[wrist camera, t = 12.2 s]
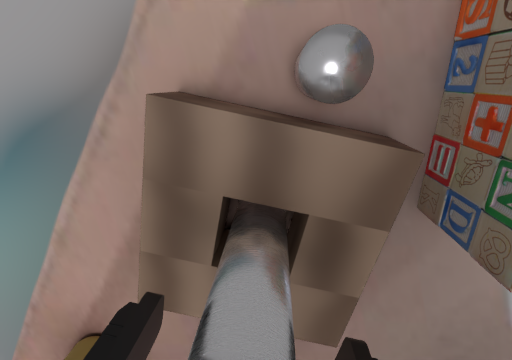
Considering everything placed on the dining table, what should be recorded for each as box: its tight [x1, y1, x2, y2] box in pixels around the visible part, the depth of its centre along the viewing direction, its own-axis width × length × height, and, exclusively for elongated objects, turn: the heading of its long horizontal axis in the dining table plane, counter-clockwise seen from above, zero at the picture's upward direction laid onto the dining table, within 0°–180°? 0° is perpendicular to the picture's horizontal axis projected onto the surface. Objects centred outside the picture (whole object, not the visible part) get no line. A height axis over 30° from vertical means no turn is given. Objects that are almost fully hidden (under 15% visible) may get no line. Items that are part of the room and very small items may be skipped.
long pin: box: [188, 200, 295, 360], centre depth 15 cm, size 4×4×14 cm
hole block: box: [138, 92, 425, 347], centre depth 19 cm, size 16×16×5 cm
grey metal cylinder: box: [294, 24, 374, 104], centre depth 16 cm, size 4×4×4 cm
